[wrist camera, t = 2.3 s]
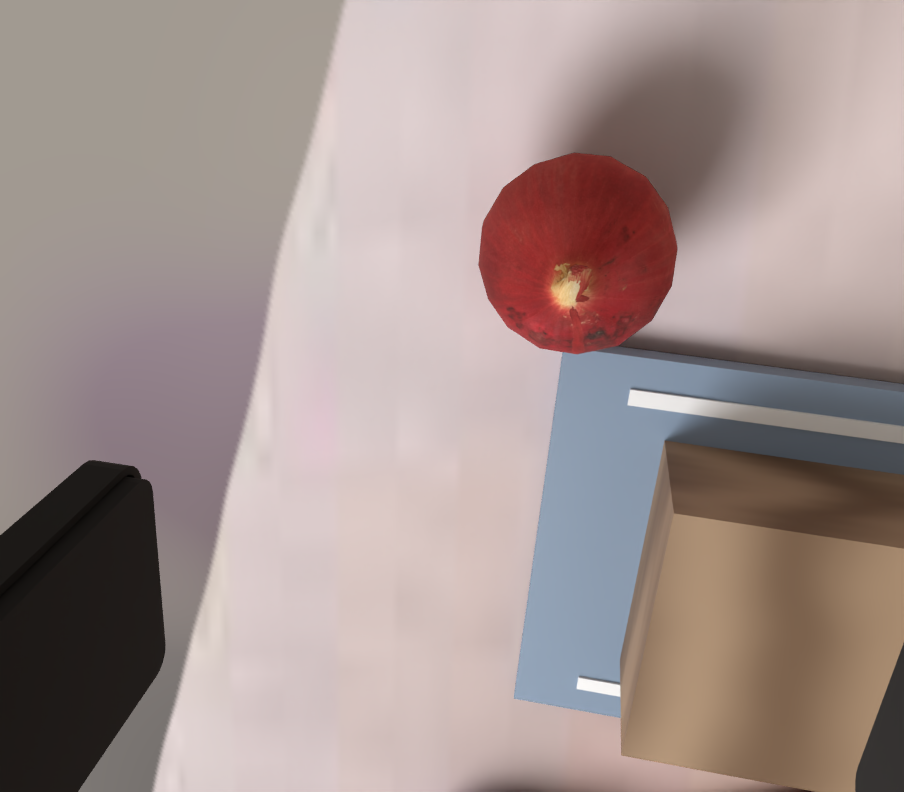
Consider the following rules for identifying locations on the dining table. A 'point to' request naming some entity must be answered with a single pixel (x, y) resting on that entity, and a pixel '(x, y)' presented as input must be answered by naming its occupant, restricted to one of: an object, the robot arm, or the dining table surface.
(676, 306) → the dining table surface
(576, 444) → the blueprint mat
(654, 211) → the onion
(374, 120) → the dining table surface
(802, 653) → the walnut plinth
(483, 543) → the dining table surface
